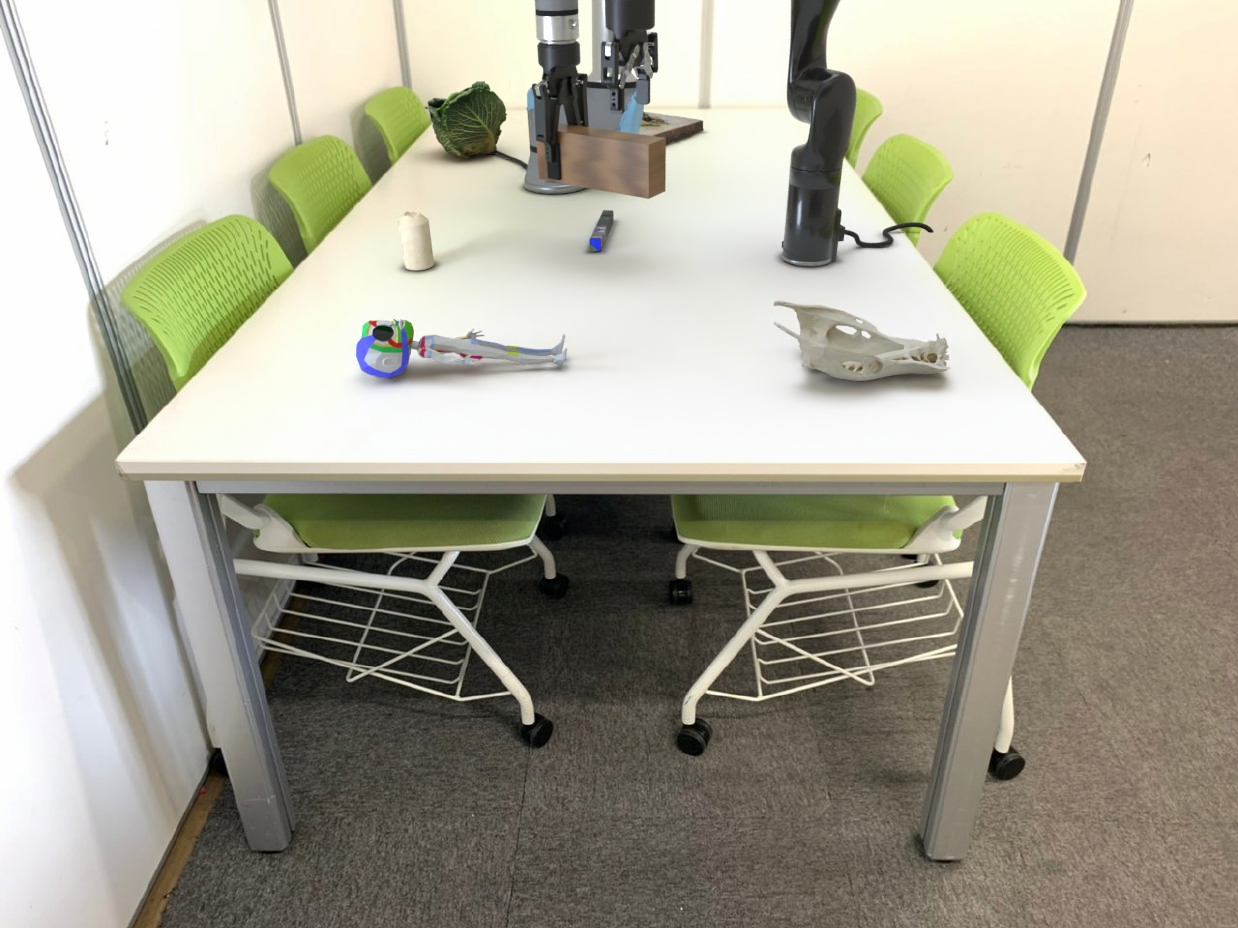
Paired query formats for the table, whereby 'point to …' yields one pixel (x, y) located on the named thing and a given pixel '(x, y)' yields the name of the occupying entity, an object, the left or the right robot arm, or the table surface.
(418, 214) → the candle
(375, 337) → the toy
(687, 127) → the plaque
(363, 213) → the table surface
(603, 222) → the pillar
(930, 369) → the anatomical model
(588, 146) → the bar
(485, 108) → the vegetable
